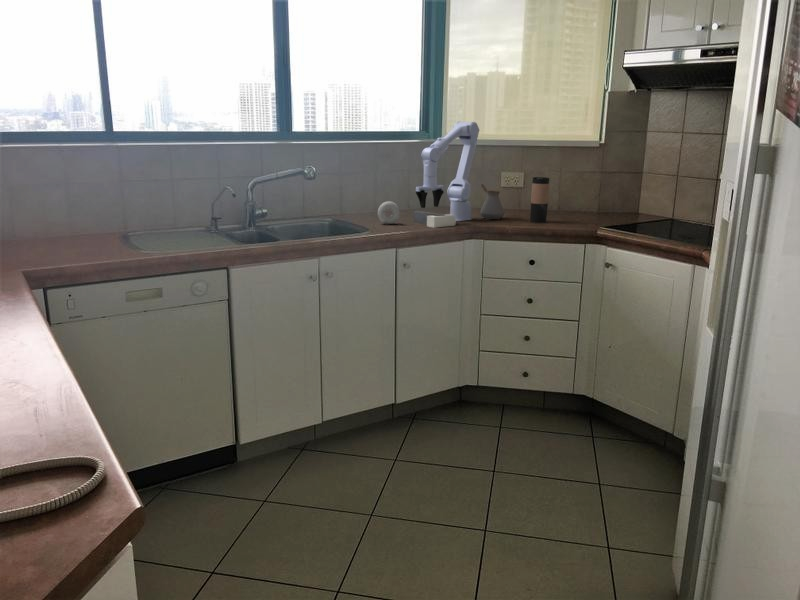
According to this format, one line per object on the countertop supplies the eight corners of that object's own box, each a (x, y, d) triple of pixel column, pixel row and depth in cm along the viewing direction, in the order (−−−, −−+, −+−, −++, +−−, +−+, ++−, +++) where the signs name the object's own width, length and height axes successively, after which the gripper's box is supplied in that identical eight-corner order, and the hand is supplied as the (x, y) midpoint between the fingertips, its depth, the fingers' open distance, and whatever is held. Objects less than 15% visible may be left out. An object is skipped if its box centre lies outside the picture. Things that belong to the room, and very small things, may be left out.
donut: (398, 223, 295) (399, 200, 293) (400, 224, 292) (401, 201, 290) (376, 223, 293) (376, 201, 290) (378, 225, 290) (378, 201, 287)
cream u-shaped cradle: (448, 224, 295) (448, 213, 294) (455, 225, 292) (455, 215, 291) (426, 226, 288) (427, 215, 286) (434, 227, 284) (434, 217, 283)
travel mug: (545, 221, 309) (548, 177, 304) (547, 223, 302) (550, 178, 297) (528, 220, 310) (531, 176, 305) (530, 222, 303) (533, 178, 298)
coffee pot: (508, 220, 311) (509, 187, 307) (484, 220, 308) (486, 187, 304) (490, 214, 331) (492, 183, 327) (469, 214, 328) (470, 183, 324)
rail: (419, 221, 303) (419, 210, 302) (444, 226, 291) (444, 214, 290) (413, 222, 301) (413, 211, 299) (438, 226, 289) (438, 215, 288)
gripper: (436, 174, 298) (435, 205, 301) (411, 176, 289) (411, 207, 293) (447, 175, 293) (446, 206, 296) (422, 177, 284) (421, 209, 287)
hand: (429, 207), depth 294 cm, fingers open, 7 cm apart
